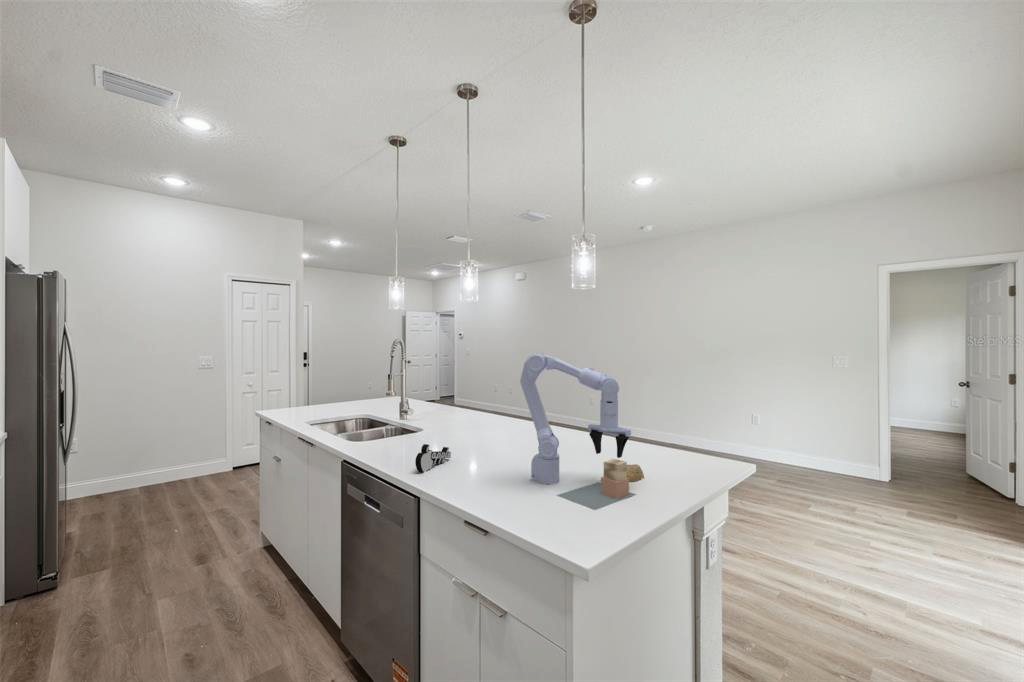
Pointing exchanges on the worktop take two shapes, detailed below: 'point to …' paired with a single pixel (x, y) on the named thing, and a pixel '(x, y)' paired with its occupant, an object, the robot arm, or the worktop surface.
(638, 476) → the stone tool
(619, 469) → the maple block
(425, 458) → the logo
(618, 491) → the terracotta brick
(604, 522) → the worktop surface
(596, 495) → the slate mat
